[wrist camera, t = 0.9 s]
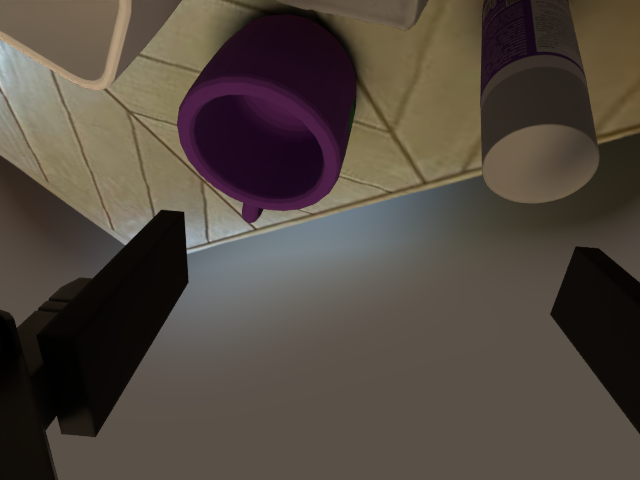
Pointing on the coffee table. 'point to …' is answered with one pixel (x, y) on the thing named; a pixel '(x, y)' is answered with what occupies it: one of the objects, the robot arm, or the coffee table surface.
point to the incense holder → (368, 10)
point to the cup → (83, 34)
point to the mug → (271, 115)
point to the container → (534, 102)
